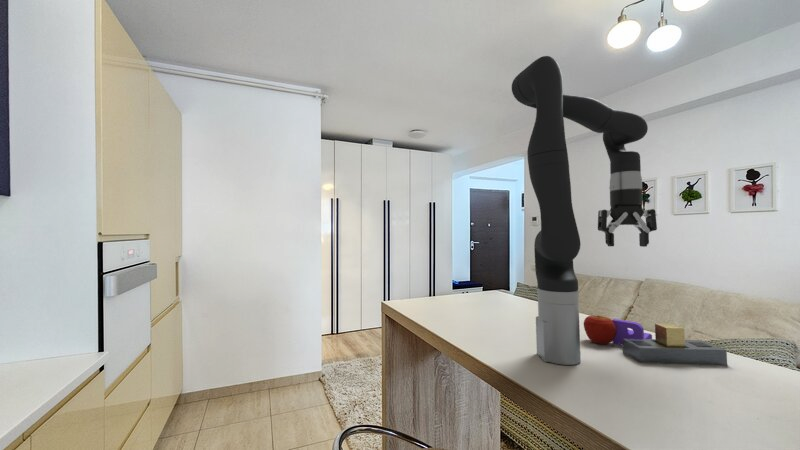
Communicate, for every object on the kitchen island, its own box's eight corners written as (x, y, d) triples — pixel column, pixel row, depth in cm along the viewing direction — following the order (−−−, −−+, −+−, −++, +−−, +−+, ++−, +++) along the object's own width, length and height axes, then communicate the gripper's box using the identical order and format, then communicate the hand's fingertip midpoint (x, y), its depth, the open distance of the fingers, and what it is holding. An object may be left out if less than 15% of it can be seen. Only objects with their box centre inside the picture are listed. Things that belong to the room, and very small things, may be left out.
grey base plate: (640, 362, 76) (639, 347, 76) (622, 352, 83) (622, 338, 83) (727, 365, 74) (726, 349, 74) (702, 354, 81) (701, 339, 81)
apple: (610, 349, 85) (609, 320, 86) (579, 342, 92) (578, 314, 92) (620, 343, 90) (619, 315, 90) (590, 336, 96) (589, 310, 97)
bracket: (642, 350, 85) (641, 324, 85) (612, 344, 90) (611, 319, 91) (652, 340, 93) (651, 316, 93) (624, 335, 98) (623, 312, 99)
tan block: (667, 361, 77) (666, 328, 77) (656, 355, 81) (654, 323, 81) (685, 361, 77) (684, 328, 77) (673, 355, 81) (671, 323, 81)
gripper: (605, 187, 87) (607, 246, 87) (662, 186, 85) (664, 247, 85) (592, 191, 95) (593, 246, 94) (644, 190, 93) (645, 246, 92)
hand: (627, 246), depth 89 cm, fingers open, 8 cm apart
